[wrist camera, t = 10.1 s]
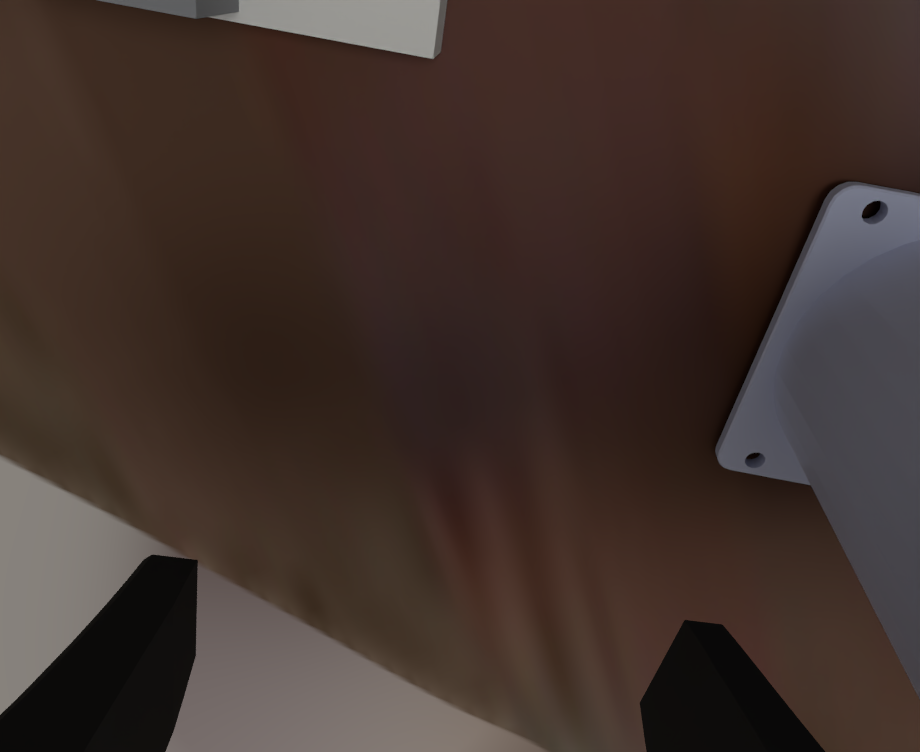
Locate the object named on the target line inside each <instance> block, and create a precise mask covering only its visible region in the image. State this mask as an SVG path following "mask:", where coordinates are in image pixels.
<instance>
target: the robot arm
mask: <svg viewBox="0 0 920 752" xmlns="http://www.w3.org/2000/svg"><path fill="white" fill-rule="evenodd" d="M873 201H880V202H881V205H880V210H879V211H878V212H877V213H876V215H874V216H872V217H870V218H865V219H863V218H862V212H863V210H864V208H865V207H866V206H867V205H868V204H870V203H871V202H873ZM715 453H716V456H717V459H718V462H719V464H720V465H721V466H722V467H723V468H726V469H729V470H733V471H738V472H743V473H749V474H754V475H759V476H764V477H770V478H775V479H780V480H785V481H791V482H796V483H801V484H806V485H811V487H812V489H813V491H814V493H815V495H816V497H817V499H818V501H819V503H820V505H821V506H822V508H823V510H824V512H825V514H826V516H827V518H828V520H829V522H830V524H831V526H832V528H833V530H834V532H835V534H836V536H837V538H838V540H839V542H840V544H841V546H842V548H843V550H844V552H845V554H846V556H847V558H848V560H849V562H850V564H851V565H852V567H853V569H854V571H855V573H856V575H857V577H858V579H859V581H860V583H861V585H862V587H863V589H864V591H865V593H866V595H867V597H868V599H869V601H870V603H871V605H872V607H873V609H874V611H875V613H876V615H877V617H878V619H879V621H880V622H881V624H882V626H883V628H884V630H885V632H886V634H887V636H888V638H889V640H890V642H891V644H892V646H893V648H894V650H895V652H896V654H897V656H898V658H899V660H900V662H901V664H902V666H903V668H904V670H905V672H906V674H907V676H908V678H909V680H910V681H911V683H912V685H913V687H914V689H915V691H916V693H917V695H918V697H919V699H920V193H915V192H909V191H904V190H899V189H893V188H888V187H882V186H877V185H872V184H866V183H861V182H845V183H843V184H840V185H838V186H836V187H835V188H834V189H832V190H831V191H830V192H829V194H828V195H827V197H826V198H825V200H824V202H823V204H822V206H821V209H820V211H819V213H818V216H817V218H816V220H815V222H814V225H813V227H812V229H811V231H810V234H809V236H808V238H807V241H806V243H805V245H804V247H803V250H802V252H801V254H800V256H799V259H798V261H797V263H796V266H795V268H794V270H793V272H792V275H791V277H790V279H789V281H788V284H787V286H786V288H785V290H784V293H783V295H782V297H781V300H780V302H779V304H778V306H777V309H776V311H775V313H774V315H773V318H772V320H771V322H770V325H769V327H768V329H767V331H766V334H765V336H764V338H763V340H762V343H761V345H760V347H759V350H758V352H757V354H756V356H755V359H754V361H753V363H752V365H751V368H750V370H749V372H748V375H747V377H746V379H745V381H744V384H743V386H742V388H741V390H740V393H739V395H738V397H737V399H736V402H735V404H734V406H733V409H732V411H731V413H730V415H729V418H728V420H727V422H726V424H725V427H724V429H723V431H722V434H721V436H720V438H719V440H718V443H717V445H716V449H715ZM752 453H761V454H760V455H759V456H758V457H756V458H754V459H746V457H747V456H748V455H749V454H752ZM197 564H198V560H192V559H184V558H176V557H168V556H160V555H151V556H149V557H147V558H146V559H144V560H143V561H142V563H141V564H140V565H139V566H138V567H137V569H136V570H135V571H134V572H133V574H132V575H131V576H130V577H129V578H128V580H127V581H126V582H125V583H124V584H123V586H122V587H121V588H120V589H119V591H117V593H116V594H115V595H114V596H113V597H112V598H111V600H110V601H109V602H108V603H107V604H106V605H105V606H104V608H103V609H102V610H101V611H100V612H99V613H98V614H97V616H96V617H95V618H94V619H93V620H92V621H91V622H90V623H89V624H88V625H87V626H86V628H85V629H84V630H83V631H82V632H81V633H80V634H79V635H78V636H77V637H76V639H75V640H74V641H73V642H72V643H71V644H70V645H69V646H68V647H67V648H66V649H65V650H64V651H63V652H62V653H61V654H60V655H59V656H58V657H57V658H56V659H55V660H54V661H53V663H52V664H51V665H50V666H49V667H48V668H47V669H46V670H45V671H44V672H43V673H42V674H41V675H40V676H39V677H38V678H37V679H36V680H35V681H34V682H33V683H32V684H31V685H30V686H29V687H28V688H27V689H26V690H25V692H23V693H22V694H21V695H20V696H19V697H18V699H17V700H15V701H14V702H13V703H12V704H11V705H10V706H9V707H8V708H7V709H6V710H5V711H4V712H3V713H2V714H1V715H0V752H165V751H166V749H167V746H168V743H169V741H170V738H171V736H172V733H173V731H174V727H175V724H176V721H177V718H178V714H179V711H180V708H181V704H182V701H183V698H184V694H185V691H186V687H187V683H188V680H189V677H190V673H191V670H192V666H193V663H194V659H195V656H196V611H197V610H196V609H197ZM640 707H641V715H642V722H643V729H644V737H645V744H646V750H647V752H825V751H824V750H823V748H822V747H821V746H820V745H819V744H818V742H817V741H816V740H815V739H814V738H813V736H812V735H811V734H810V733H809V731H808V730H807V729H806V728H805V726H804V725H803V724H802V723H801V722H800V720H799V719H798V718H797V717H796V715H795V714H794V713H793V712H792V710H791V709H790V708H789V707H788V705H787V704H786V703H785V702H784V700H783V699H782V698H781V697H780V695H779V694H778V693H777V692H776V690H775V689H774V688H773V687H772V685H771V684H770V683H769V682H768V680H767V679H766V678H765V677H764V675H763V674H762V673H761V671H760V670H759V669H758V668H757V666H756V665H755V664H754V663H753V661H752V660H751V659H750V658H749V656H748V655H747V654H746V653H745V651H744V650H743V649H742V648H741V647H740V645H739V644H738V643H737V642H736V640H735V639H734V638H733V637H732V636H731V634H730V633H729V632H728V631H727V630H726V628H725V627H724V626H723V625H721V624H713V623H705V622H697V621H688V620H685V621H684V622H683V624H682V626H681V628H680V630H679V632H678V634H677V635H676V637H675V639H674V641H673V643H672V645H671V646H670V648H669V650H668V652H667V654H666V656H665V657H664V659H663V661H662V663H661V665H660V667H659V669H658V670H657V672H656V674H655V676H654V678H653V680H652V681H651V683H650V685H649V687H648V689H647V691H646V692H645V694H644V696H643V698H642V700H641V702H640Z"/></svg>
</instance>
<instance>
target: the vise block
mask: <svg viewBox="0 0 920 752" xmlns="http://www.w3.org/2000/svg"><path fill="white" fill-rule="evenodd" d="M98 1H104V2H109V3H114V4H120V5H125V6H130V7H136V8H141V9H147V10H152V11H157V12H163V13H168V14H173V15H179V16H184V17H189V18H195V19H198V18H204V17H211V18H216V19H221V20H227V21H232V22H237V23H243V24H248V25H254V26H259V27H264V28H270V29H275V30H280V31H286V32H291V33H297V34H302V35H307V36H313V37H318V38H323V39H329V40H334V41H339V42H345V43H350V44H356V45H361V46H366V47H372V48H377V49H382V50H388V51H393V52H399V53H404V54H409V55H415V56H420V57H425V58H431V59H434V58H435V57H436V56H437V55H438V54H439V53H440V52H441V46H442V38H443V30H444V23H445V15H446V7H447V0H98Z"/></svg>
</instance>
